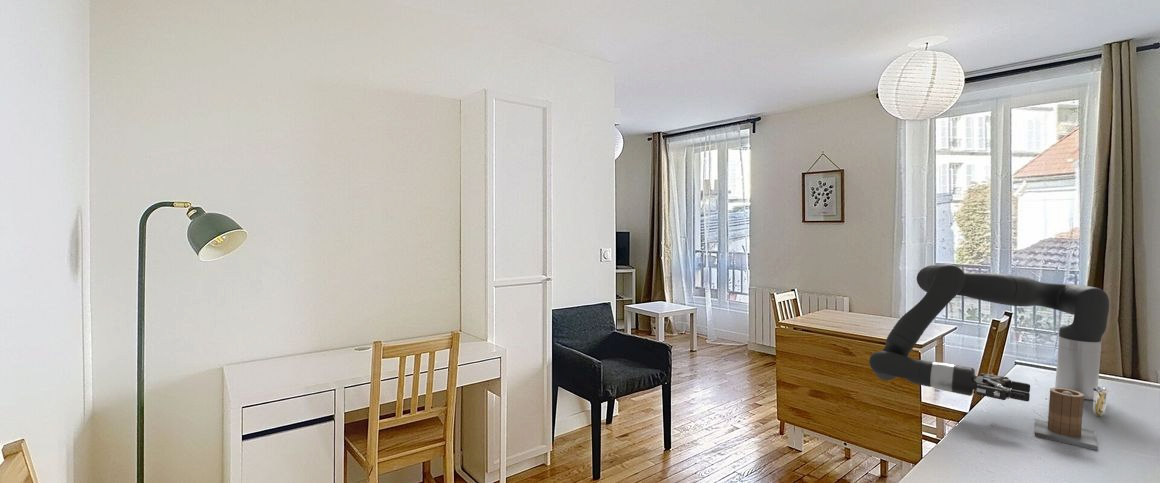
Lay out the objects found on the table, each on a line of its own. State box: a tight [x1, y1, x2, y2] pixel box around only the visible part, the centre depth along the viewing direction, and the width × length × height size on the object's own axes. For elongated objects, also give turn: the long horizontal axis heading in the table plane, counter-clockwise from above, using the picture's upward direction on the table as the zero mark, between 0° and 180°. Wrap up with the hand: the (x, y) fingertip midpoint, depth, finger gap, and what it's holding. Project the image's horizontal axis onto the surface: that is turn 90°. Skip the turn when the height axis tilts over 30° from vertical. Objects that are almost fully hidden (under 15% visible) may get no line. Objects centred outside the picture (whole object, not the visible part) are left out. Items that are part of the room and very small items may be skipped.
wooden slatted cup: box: [1047, 387, 1085, 437], centre depth 128 cm, size 6×6×10 cm
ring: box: [1092, 385, 1110, 417], centre depth 141 cm, size 7×3×8 cm, turn 117°
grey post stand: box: [1034, 391, 1099, 451], centre depth 128 cm, size 11×11×11 cm
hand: (1029, 392), depth 132 cm, fingers open, 8 cm apart
